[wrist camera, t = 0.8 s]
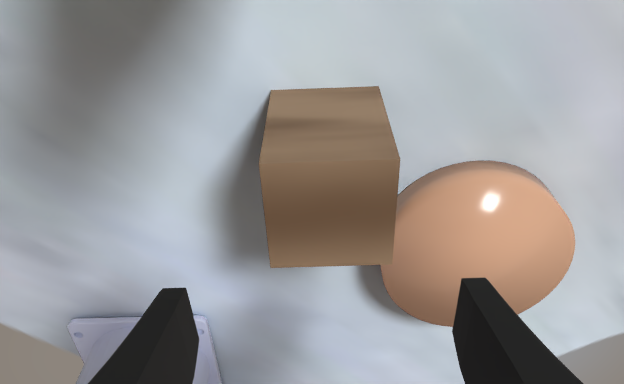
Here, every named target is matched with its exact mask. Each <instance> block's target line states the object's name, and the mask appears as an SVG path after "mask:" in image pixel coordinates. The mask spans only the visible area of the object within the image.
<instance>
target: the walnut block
mask: <svg viewBox="0 0 624 384" xmlns="http://www.w3.org/2000/svg"><path fill="white" fill-rule="evenodd" d="M399 168H400V157H399V154H398V150H397V147H396V143H395V140H394V137H393V133H392V130H391V126H390V123H389V120H388V116H387V113H386V110H385V106H384V103H383V99H382V96H381V93H380V89H379V86H374V87H346V88H318V89H289V90H271V94H270V100H269V106H268V112H267V118H266V124H265V130H264V136H263V142H262V148H261V153H260V159H259V170H260V179H261V188H262V197H263V205H264V214H265V223H266V232H267V241H268V250H269V258H270V267H271V268H283V267H318V266H353V265H388V264H392V261H393V248H394V234H395V221H396V208H397V194H398V181H399Z"/></svg>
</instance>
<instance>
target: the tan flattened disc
mask: <svg viewBox="0 0 624 384" xmlns="http://www.w3.org/2000/svg"><path fill="white" fill-rule="evenodd" d="M574 250H575V235H574V230H573V227H572V224H571V222H570V220H569V218H568V216H567V215H566V213H565V212H564V210H563V209H562V208H561V206H560V205H559V203H558V202H557V201H556V199H555V198H554V196H553V195H552V194H551V192H550V191H549V190H548V188H547V187H546V186H545V185H544V183H543V182H542V181H541V180H539V179H538V178H537V177H536V176H535V175H533V174H531V173H530V172H528V171H526V170H524V169H522V168H520V167H517V166H515V165H511V164H507V163H503V162H496V161H469V162H463V163H458V164H453V165H450V166H446V167H443V168H440V169H438V170H435V171H433V172H431V173H429V174H427V175H425V176H423V177H421V178H420V179H418V180H416V181H415V182H414V183H412V184H411V185H409V186H408V187H407V188H406V189H405V190H403V191H402V192H401V193H400V194H399V195H398V196H397V208H396V221H395V234H394V248H393V261H392V264H388V265H380V266H381V272H382V277H383V282H384V285H385V287H386V290H387V292H388V294H389V295H390V297H391V298H392V300H393V301H394V302H395V303H396V304H397V305H398V306H399V307H400V308H401V309H403V310H404V311H405V312H407V313H408V314H410V315H412V316H413V317H415V318H418V319H420V320H422V321H425V322H428V323H432V324H436V325H441V326H450V327H453V324H454V319H455V313H456V307H457V301H458V296H459V290H460V284H461V278H484V277H485V278H486V279H487V280H488V281H489V282H490V283H491V284H492V285H493V287H494V288H495V289H496V290H497V291H498V293H499V294H500V295H501V296H502V297H503V299H504V300H505V301H506V302H507V303H508V305H509V306H510V307H511V308H512V309H513V310H514V312H515V313H516V314H519V313H521V312H523V311H525V310H527V309H529V308H530V307H532V306H534V305H535V304H537V303H538V302H540V301H541V300H542V299H543V298H545V297H546V296H547V295H548V294H549V293H550V292H551V291H552V290H553V289H554V288H555V287H556V286H557V285H558V284H559V283H560V281H561V280H562V279H563V277H564V276H565V274H566V272H567V271H568V269H569V266H570V264H571V262H572V259H573V255H574Z"/></svg>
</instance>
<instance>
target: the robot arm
mask: <svg viewBox="0 0 624 384" xmlns="http://www.w3.org/2000/svg"><path fill="white" fill-rule="evenodd" d="M67 328H68V331H69V333H70V335H71V337H72V339H73V341H74V344H75V346H76V348H77V350H78V352H79V354H80V356H81V358H82V360H83V363H84V366H83V369H82V371H81V373H80V375H79V377H78V380H77V382H76V384H222V380H221V376H220V372H219V367H218V363H217V358H216V354H215V350H214V345H213V341H212V337H211V332H210V328H209V323H208V320H207V319H206V318H205V317H204V316H200V315H193V313H192V309H191V305H190V301H189V297H188V294H187V290H186V288H163V289H162V290H161V291H160V292H159V294H158V295H157V296H156V298H155V299H154V300H153V302H152V303H151V305H150V306H149V307H148V309H147V310H146V312H145V313H144V314H143V316H142V317H115V318H78V319H72V320H70V322H69V324H68V326H67ZM201 329H202V330H201ZM452 332H453V337H454V342H455V347H456V352H457V356H458V361H459V365H460V369H461V372H462V375H463V378H464V381H465V384H583V383H582V382H581V381H580V380H579V379H578V378H577V377H576V376H575V375H574V374H573V373H572V372H571V371H570V370H569V369H568V368H567V367H565V365H563V363H562V362H561V361H559V360H558V358H557V357H556V356H555V355H554V354H553V353H552V352H551V351H550V350H549V349H548V348H547V347H546V346H545V345H544V344H543V343H542V342H541V341H540V340H539V338H538V337H537V336H536V335H535V334H534V333H533V332H532V331H531V330H530V329H529V328H528V327H527V325H526V324H525V323H524V322H523V321H522V320H521V319H520V317H519V316H518V315H517V314H516V313H515V312H514V310H513V309H512V308H511V307H510V306H509V305H508V303H507V302H506V301H505V300H504V299H503V297H502V296H501V295H500V294H499V293H498V291H497V290H496V289H495V288H494V287H493V285H492V284H491V283H490V282H489V281H488V280H487V279H486V278H485V277H484V278H461V284H460V290H459V296H458V301H457V307H456V313H455V319H454V324H453V330H452Z"/></svg>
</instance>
